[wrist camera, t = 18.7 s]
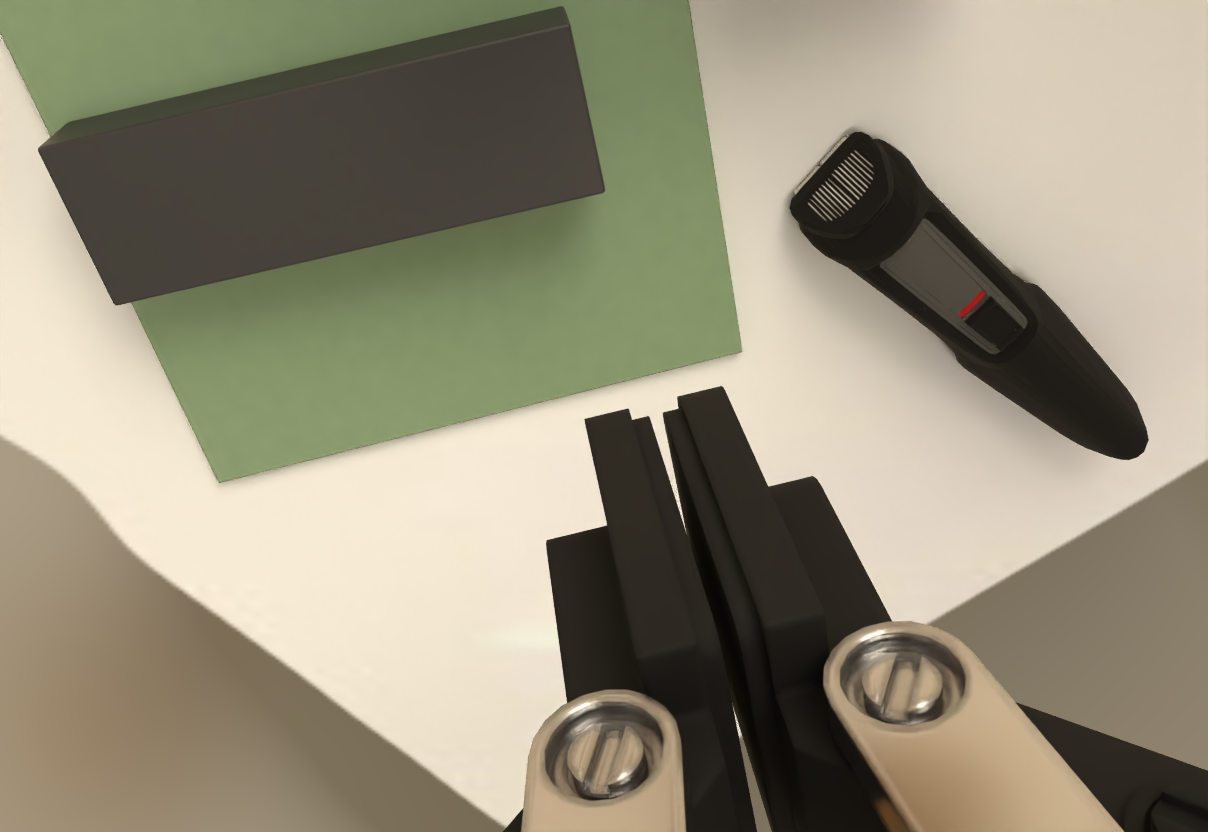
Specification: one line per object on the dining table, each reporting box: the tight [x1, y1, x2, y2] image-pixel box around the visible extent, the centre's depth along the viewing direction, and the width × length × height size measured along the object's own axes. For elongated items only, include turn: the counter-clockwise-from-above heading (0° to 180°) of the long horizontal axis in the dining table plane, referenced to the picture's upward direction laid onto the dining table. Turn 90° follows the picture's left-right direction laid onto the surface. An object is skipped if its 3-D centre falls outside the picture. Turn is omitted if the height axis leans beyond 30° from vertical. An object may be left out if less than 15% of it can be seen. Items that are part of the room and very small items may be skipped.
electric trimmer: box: [790, 132, 1149, 460], centre depth 36 cm, size 4×16×3 cm, turn 49°
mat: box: [0, 0, 742, 483], centre depth 31 cm, size 20×18×1 cm
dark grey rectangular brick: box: [38, 6, 605, 305], centre depth 30 cm, size 5×3×14 cm
